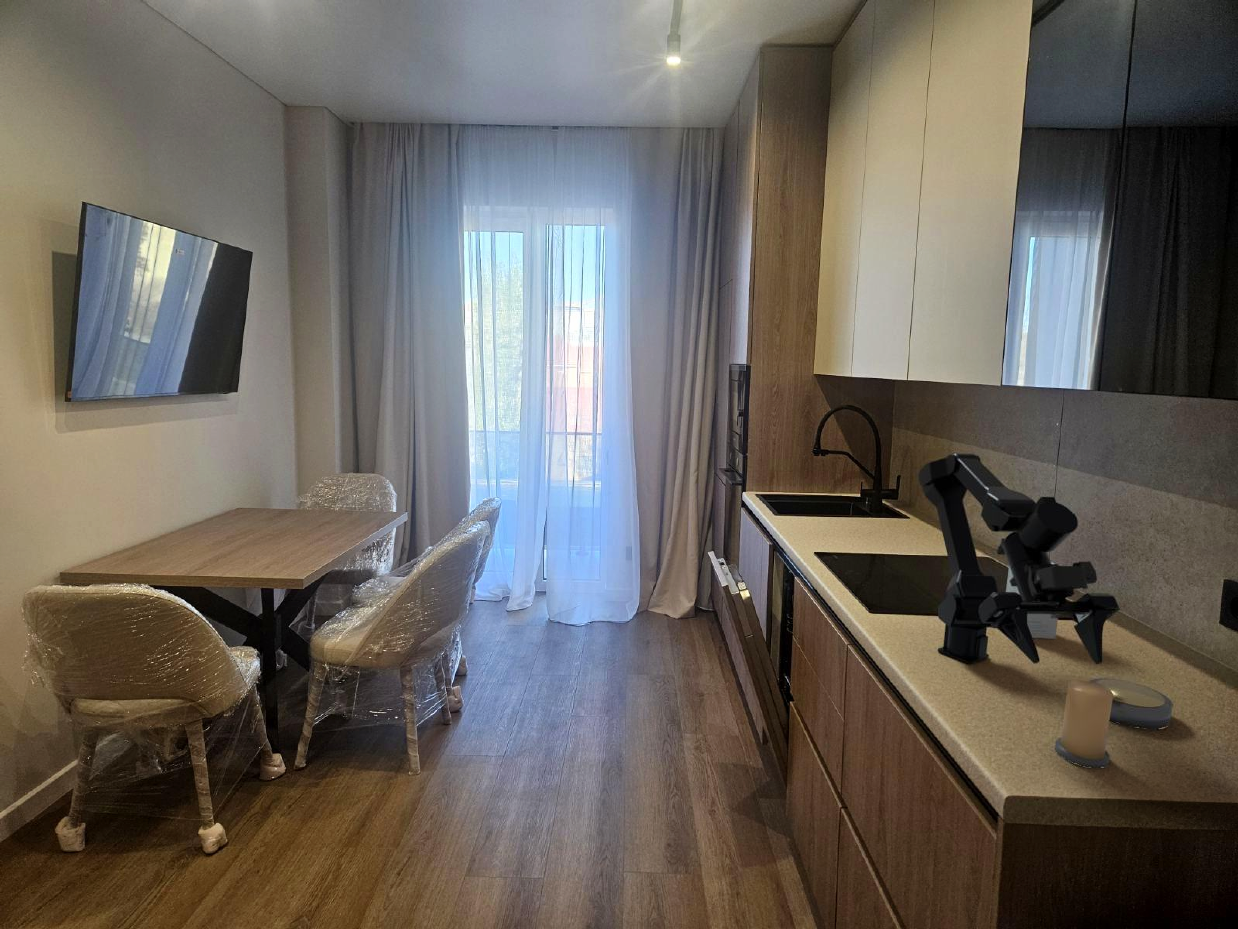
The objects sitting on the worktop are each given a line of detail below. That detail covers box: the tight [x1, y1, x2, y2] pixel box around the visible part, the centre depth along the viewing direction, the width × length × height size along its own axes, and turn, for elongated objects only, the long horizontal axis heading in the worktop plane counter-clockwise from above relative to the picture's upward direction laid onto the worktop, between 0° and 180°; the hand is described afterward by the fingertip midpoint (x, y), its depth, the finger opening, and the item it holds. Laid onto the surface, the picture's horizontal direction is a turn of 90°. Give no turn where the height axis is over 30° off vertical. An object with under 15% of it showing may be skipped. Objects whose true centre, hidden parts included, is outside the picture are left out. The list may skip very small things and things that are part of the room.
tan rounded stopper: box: [1054, 679, 1113, 768], centre depth 99 cm, size 6×6×10 cm
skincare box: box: [1005, 561, 1060, 640], centre depth 144 cm, size 8×6×15 cm
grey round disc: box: [1088, 677, 1174, 729], centre depth 113 cm, size 11×11×3 cm
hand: (1068, 663), depth 103 cm, fingers open, 9 cm apart
